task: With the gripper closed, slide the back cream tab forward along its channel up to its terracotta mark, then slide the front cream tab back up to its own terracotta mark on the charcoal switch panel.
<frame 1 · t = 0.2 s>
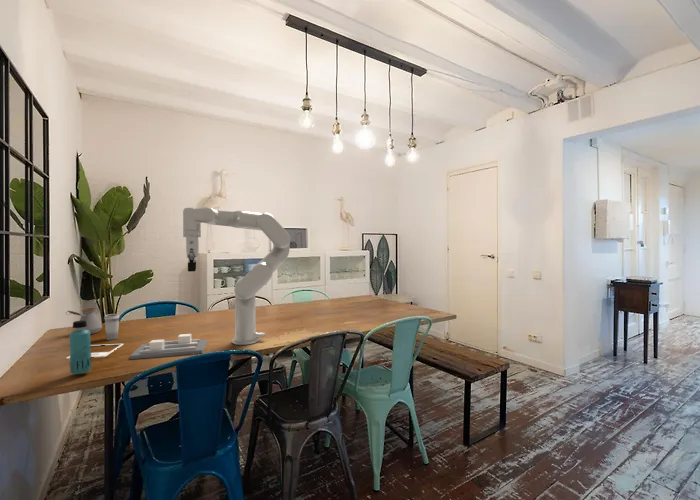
hand: (192, 270, 164), 36 cm above the table, tool pointing down, fingers open, 9 cm apart
beverage bottle: (80, 375, 129), on the table
switch tab a: (184, 339, 163), point 4 cm above the table, slide at 0.0 cm
cup: (112, 339, 176), on the table
photo frame: (96, 352, 156), on the table
switch tab b: (157, 345, 153), point 4 cm above the table, slide at 10.0 cm
switch panel: (171, 350, 158), on the table
coffee pot: (83, 335, 182), on the table
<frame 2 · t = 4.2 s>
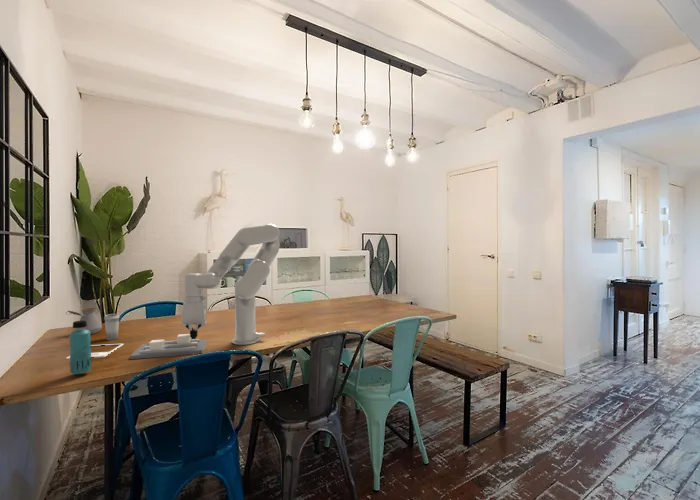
hand: (193, 338, 164), 4 cm above the table, tool pointing down, fingers closed
switch tab a: (183, 339, 162), point 4 cm above the table, slide at 0.5 cm, touching gripper
everything else where it was.
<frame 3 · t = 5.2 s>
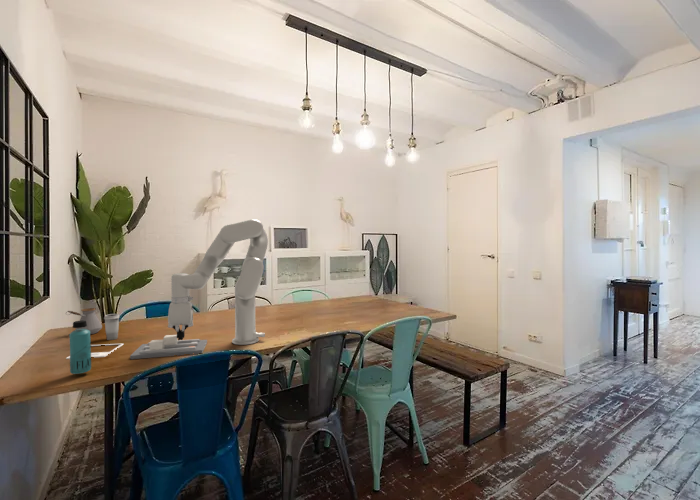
hand: (180, 339, 162), 4 cm above the table, tool pointing down, fingers closed
switch tab a: (170, 340, 161), point 4 cm above the table, slide at 6.1 cm, touching gripper
everything else where it was.
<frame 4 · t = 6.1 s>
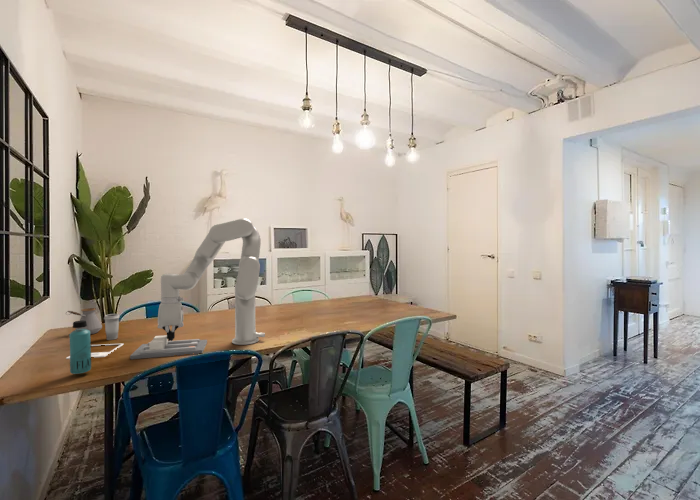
hand: (170, 340, 161), 4 cm above the table, tool pointing down, fingers closed
switch tab a: (160, 341, 160), point 4 cm above the table, slide at 10.2 cm, touching gripper
everything else where it was.
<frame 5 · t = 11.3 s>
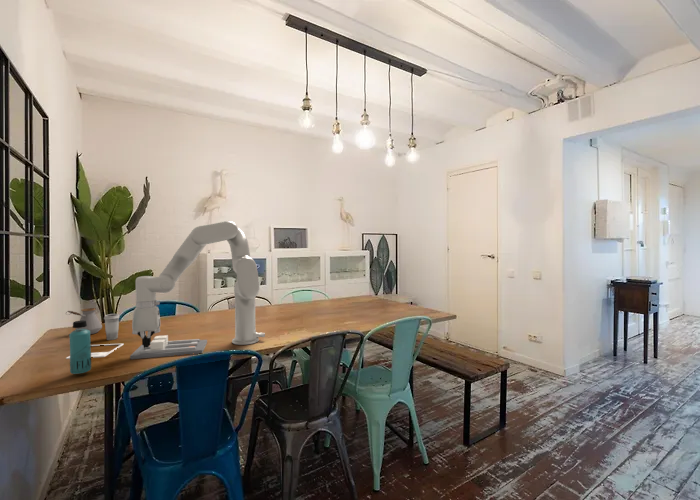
hand: (146, 346, 152), 4 cm above the table, tool pointing down, fingers closed
switch tab a: (161, 341, 160), point 4 cm above the table, slide at 10.1 cm
switch tab b: (157, 345, 153), point 4 cm above the table, slide at 9.7 cm, touching gripper
everything else where it was.
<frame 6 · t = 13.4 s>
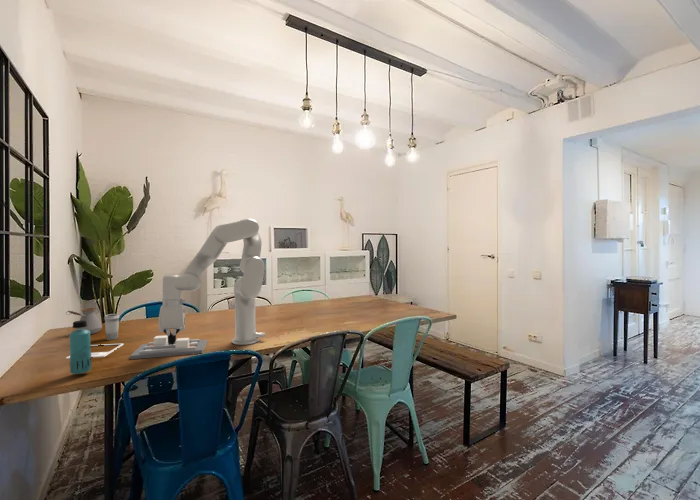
hand: (171, 343, 155), 4 cm above the table, tool pointing down, fingers closed
switch tab b: (182, 343, 156), point 4 cm above the table, slide at -0.2 cm, touching gripper
everything else where it was.
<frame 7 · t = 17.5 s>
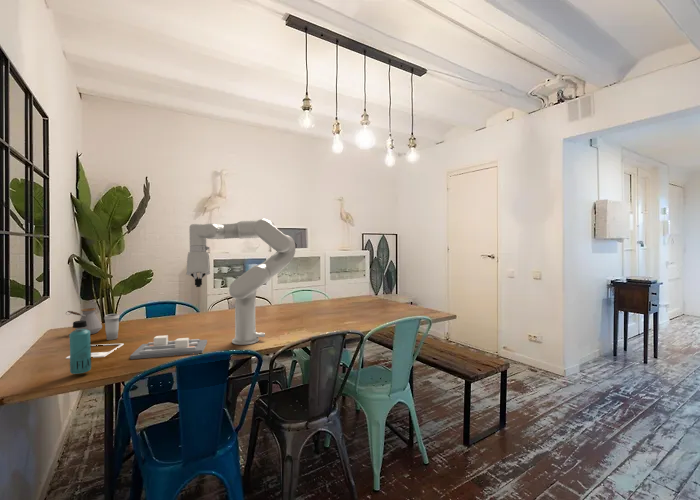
hand: (198, 286, 171), 27 cm above the table, tool pointing down, fingers closed
switch tab b: (182, 343, 156), point 4 cm above the table, slide at -0.1 cm
everything else where it was.
at the end: switch tab a slide at 10.1 cm; switch tab b slide at -0.1 cm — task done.
